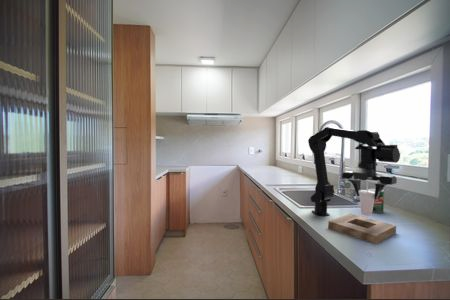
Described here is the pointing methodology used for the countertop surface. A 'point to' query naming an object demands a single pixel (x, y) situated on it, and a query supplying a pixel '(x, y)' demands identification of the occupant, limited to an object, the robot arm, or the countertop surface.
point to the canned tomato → (378, 201)
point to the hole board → (362, 228)
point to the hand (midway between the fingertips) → (366, 197)
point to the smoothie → (366, 201)
